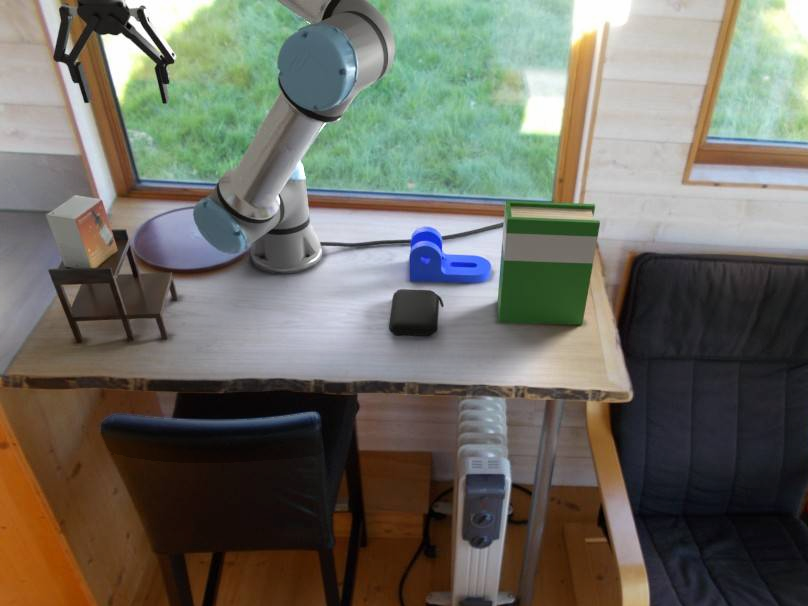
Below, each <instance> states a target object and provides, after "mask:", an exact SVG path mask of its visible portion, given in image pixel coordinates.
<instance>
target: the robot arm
mask: <svg viewBox="0 0 808 606" xmlns="http://www.w3.org/2000/svg"><path fill="white" fill-rule="evenodd" d="M275 1H276V2H278V3H279V4H281V5H282V6H283V7H285V8H286V9H288V10H289V11H290V12H292V13H293V14H295V15H296V16H298V17H299V18H301V19H302V20H303V21H305V22H306V23H308V24H307V25H305V26H303V27H300V28H299V29H298V30H297V31H295V32H293V33H292V34H291V35H289V36H288V37H287V38H286V39H285V41H284V42H283V43H282V45H281V47H280V49H279V51H278V55H277V63H276V64H277V69H278V70H279V73H278V75H277V86H278V89H279V91H280V92H279V93H278V95H277V96H276V98H275V100H274V101H273V103H272V106H271V107H270V108H269V111H268V112H267V114H266V116H265V117H264V119H263V121H262V123H261V124H260V126H259V128H258V129H257V131H256V132H255V135H254V137H253V138H252V140H251V142H250V144H249V146H248V147H247V149H246V151H245V152H244V154H243V156H242V158H241V159H240V161H239V162H238V165H237V166H236V167H234V168H230V169H228V170H226V171H224V173H223V174H222V175H221V176H220V178H219V180H218V181H217V183H216V185H215V187H214V188H213V190H212V191H211V192H210V194H209V195H207V196H206V197H203V198H200V199H199V201H198V202H197V203H195V205H194V206H193V210H192V216H193V222H194V223H195V226H196V228H197V230H198V232H199V233H200V235H201V236H202V237H203V239H205V240H206V241H207V242H208V244H209V245H210V246H212V247H213V248H215V249H216V250H218V251H219V252H222V253H226V254H229V255H235V254H238V253H240V252H242V251H244V250H247V249H248V248H249V247H250V246H251V247H250V255H251V260H252V263H253V264H254V265H255V266H256V267H257V268H259V269H260V270H263V271H266V272H269V273H273V274H294V273H299V272H303V271H307V270H308V269H311V268H312V267H314V266H315V265H317V264H318V263H319V262H320V260H321V259H322V256H323V250H322V247H342V248H358V247H368V246H369V247H371V246H378V245H395V244H396V245H399V244H411V238H410V239H409V238H408V239H407V238H406V239H385V240H384V239H382V240H372V241H363V242H339V241H320V240H319V238H318V236H317V233H316V231H315V230H314V227H313V225H312V224H311V219H310V209H309V199H308V191H307V190H308V189H307V181H306V180H307V176H306V175H305V170H304V165H303V163H302V162H301V161H302V160H303V158H305V155H306V153H308V150H309V149H310V148H311V146H312V145H313V143H314V142H315V140H316V138H317V137H318V135H319V134H320V133H321V131H322V130H323V128H324V126H325V125H326V124H332V123H333V124H334V123H336V122H338V121H339V120H340V119H341V118H342V116H343V115H344V113H345V112H346V111H347V109H348V108H349V106H350V105H351V103H352V102H353V101H354V99H355V98H356V96H357V95H358V94H359V93H360V92H361V91H363V90H365V89H366V88H368V87H370V86H372V85H373V84H375V83H376V82H378V81H380V80H382V78H384V77H385V76H386V75H387V74H388V72H389V71H390V69H391V67H392V66H393V63H394V59H395V53H396V42H395V37H394V34H393V31H392V27H390V25H389V23H388V21H387V19H386V18H385V17H384V15H383V14H382V13H381V12H380V11H379V9H377V8H376V7H375V6H374V5H373V4H371V2H369V1H368V0H275ZM76 2H77V6H73V5H70V4H69V3H68V2H64V3H62V5H60V7H59V8H58V13H59V18H60V23H59V28H58V31H57V32H58V33H57V38H56V41H55V46H54V51H53V58H52V59H53V61H55V62H56V63H62V64H65V66H67V69H68V72H69V75H70V79H71V81H72V83H73V84H78V86H79V89H80V93H81V96H82V99H83V102H84V104H89V103H90V102H91V101H92V99H93V95H92V92H91V89H90V85H89V81H88V78H87V75H86V72H85V71H86V70H85V68H84V64H83V62H82V61H77V60H78V58H79V56H81V55H80V54H82V51H83V50H84V48H85V47H86V45H87V43H88V41H89V40H90V38H91V37H92V35H93V33H96V34H98V35H99V36H105V35H110V36H119V35H121V34H122V35H123V36H124V38H126V39H128V40H130V41H131V43H133V44H134V45H135V46H136V47H137V48H139V50H140V51H142V52H143V53H144V54H145V55H146V56H147V57H148V58H149V59H150V60H151V61H152V62H154V63H155V66H154V71H155V72H154V73H155V76H156V81H157V86H158V90H159V94H160V98H161V102H162V105H164V104H166V105H167V104H168V102H169V101H170V95H169V91H168V85H170V83H171V75H170V70H169V65H174V64H175V62H176V60H177V57H178V56H177V54H176V53H175V51H174V50H173V49H172V47H171V46H170V44H168V41H166V39H165V38H164V36H163V35H162V33H161V32H160V31H159V29H158V28H157V26H156V25H155V24H154V22H153V20H152V19H151V17H150V14H149V12H148V8H147V7H146V6H145V5H143V4H142V5H139V7H131V8H130V7H129V6H128V5H127V3H126V0H76ZM77 16H78V18H80V19H81V20H82V21H83V22H84V23H85V24H86V25H85V27H84V28H83V30H82V32H81V34H80V36H79V37H78V39H77V40H76V42H75V44H74V46H73V47H72V49H71V51H70V52H69V54H68V53H66V50H67V46H68V41H69V36H70V33H71V32H70V31H71V27H72V23H73V20H75V19H76V17H77ZM131 17H133V18H134V19H135V21H137V22H138V23H140V24H141V27H142V28H143V30H144V31H145V32H146V34H147V35H148V37H149V38H150V39H151V41H152V42H153V44H154V45H155V46H156V47H157V48H156V47H155V46H154V45H153V44H152V43H150V41H149V40H147V38H146V37H144V36H143V35H142V34H141V33H140V32H139V31H138V30H137V28H136V27H135V26H134V25H133V24H131V22H130V19H131ZM503 225H504V221H503V222H499V223H496V224H492V225H487V226H485V227H480V228H477V229H471V230H466V231H463V232H458V233H453V234H448V235H441V237H442V241H444V240H445V241H446V240H450V239H451V240H452V239H455V238H462V237H465V236H471V235H475V234H479V233H482V232H486V231H489V230H490V231H491V230H494V229H498V228H501V227H502V228H503Z"/></svg>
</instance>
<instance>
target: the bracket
mask: <svg viewBox="0 0 808 606" xmlns="http://www.w3.org/2000/svg"><path fill="white" fill-rule="evenodd" d="M441 236H442V234H441V233H440V231H438V230H437V229H436V228H434V227H432V226H421V227H417V228H416V229H415V230H414V231H413V232H412V234H411V236H410V239H411V243H410V250H409V260H408V265H409V266H408V267H409V270H408V271H409V282H426V283H427V282H428V283H456V284H457V283H458V284H479V283H483V282H485V281H487V280H489V278H490V277H491V272H492V264H491V262H490V261H489V260H488V259H486V258H485V257H482V256H479V255H473V254H449V253H445V252H444V251H443V240H442V237H441Z"/></svg>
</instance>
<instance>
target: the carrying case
mask: <svg viewBox="0 0 808 606" xmlns="http://www.w3.org/2000/svg"><path fill="white" fill-rule="evenodd" d="M440 307H441V308H444V301H443V299H442V297H441V296H440V295H438V294H437V293H436V292H435V291H434V290H431V289H410V288H408V289H407V288H400V289H397V290H396V291H395V292H394V293H393V295H392V300H391V308H390V314H389V315H390V316H389V323H388V330H389V332H390V333H391V334H392V335H394V336H395V337H417V338H419V337H420V338H421V337H422V338H428V337H432V336H433V335H435V334H436V333H437V332H438V323H439V309H440Z"/></svg>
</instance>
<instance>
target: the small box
mask: <svg viewBox="0 0 808 606" xmlns="http://www.w3.org/2000/svg"><path fill="white" fill-rule="evenodd" d="M45 217H46V219H47V220H46V221H47V222H48V225H49V228H50V230H51V233H52V236H53V238H54V240H55V244H56V247H57V249H58V252H59V255H60V257H61V261H62V260H63V263H64V266H65V267H71V268H97V267H98V266H99V265H100V264H101V263H102V262H104V261H105V260H106V259H107V258H109V257H110V256H111V255H112V254H114V253H115V252H117V246H116V243H115V240H114V237H113V233H112V230H111V229H112V227H111V224H110V221H109V218H108V214H107V211H106V207H105V204H104V202H103V199H100V198H96V197H95V198H94V197H89V196H82V195H77V194H74V195H72V196H71V197H70V198H69V199H67V200H66V201H65V202H63V203H61V204H60V205H58V206H57V207H56V208H54V209H53V210H51V211H50V212H48V213H46V214H45Z"/></svg>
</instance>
